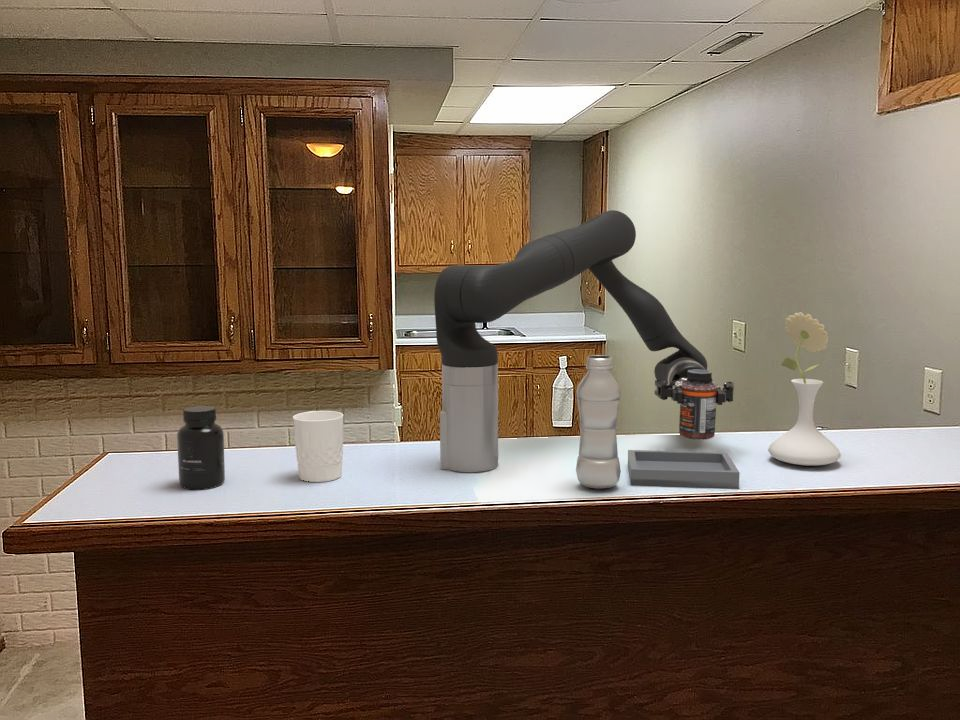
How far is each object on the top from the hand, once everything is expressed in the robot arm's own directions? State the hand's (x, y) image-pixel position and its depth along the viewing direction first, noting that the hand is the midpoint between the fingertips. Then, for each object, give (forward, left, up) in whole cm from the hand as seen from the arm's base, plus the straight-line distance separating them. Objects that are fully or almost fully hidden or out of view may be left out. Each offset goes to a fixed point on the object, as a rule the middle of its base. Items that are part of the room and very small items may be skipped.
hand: (700, 398), depth 139 cm
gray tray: (-4, -9, -11) cm, 14 cm away
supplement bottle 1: (-78, -21, -11) cm, 82 cm away
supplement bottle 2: (0, +2, -7) cm, 8 cm away
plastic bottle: (-17, -16, -11) cm, 26 cm away
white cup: (-61, -15, -11) cm, 64 cm away
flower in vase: (+17, +3, -11) cm, 21 cm away
